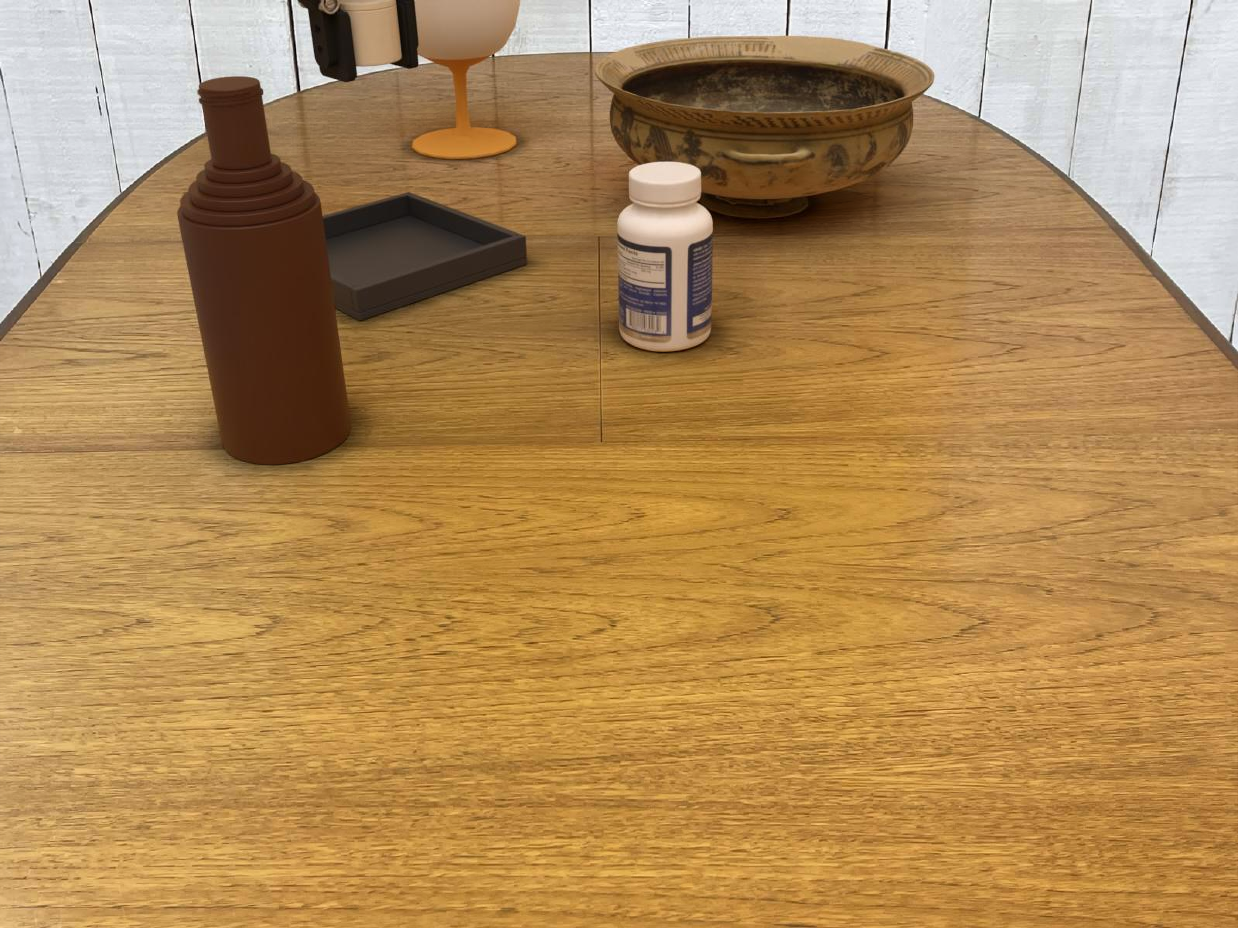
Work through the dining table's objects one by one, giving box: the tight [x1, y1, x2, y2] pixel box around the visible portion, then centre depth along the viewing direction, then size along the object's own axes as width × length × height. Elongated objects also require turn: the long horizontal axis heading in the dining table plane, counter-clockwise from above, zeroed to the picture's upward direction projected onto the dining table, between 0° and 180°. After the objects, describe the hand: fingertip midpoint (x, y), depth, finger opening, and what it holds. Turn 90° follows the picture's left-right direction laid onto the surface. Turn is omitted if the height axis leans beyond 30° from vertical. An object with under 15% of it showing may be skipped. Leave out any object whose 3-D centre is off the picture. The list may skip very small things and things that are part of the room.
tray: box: [322, 191, 528, 322], centre depth 83 cm, size 13×13×2 cm
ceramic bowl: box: [594, 35, 935, 219], centre depth 92 cm, size 30×24×10 cm
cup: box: [411, 0, 521, 160], centre depth 104 cm, size 12×12×17 cm
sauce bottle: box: [176, 75, 352, 465], centre depth 59 cm, size 6×6×18 cm
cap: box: [340, 0, 402, 67], centre depth 76 cm, size 4×4×4 cm
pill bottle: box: [616, 162, 714, 353], centre depth 71 cm, size 5×5×10 cm
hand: (369, 68), depth 77 cm, fingers closed on cap, 3 cm apart
